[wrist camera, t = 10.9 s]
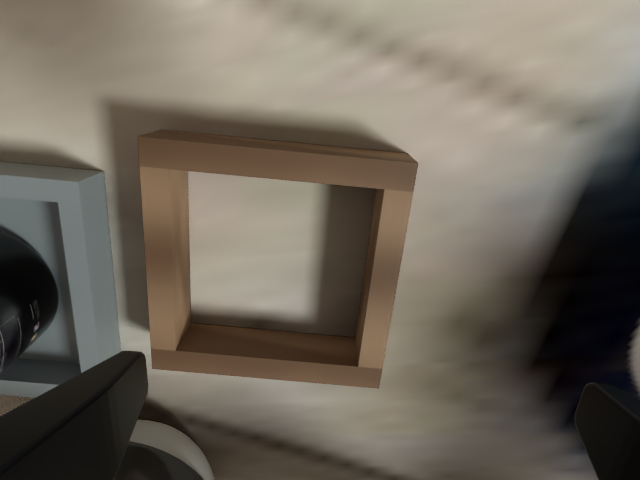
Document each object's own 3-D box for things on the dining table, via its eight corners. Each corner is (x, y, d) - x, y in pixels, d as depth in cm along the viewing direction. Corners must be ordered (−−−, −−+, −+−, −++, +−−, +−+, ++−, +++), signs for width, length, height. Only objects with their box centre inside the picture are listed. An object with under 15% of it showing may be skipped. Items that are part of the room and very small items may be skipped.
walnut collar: (374, 357, 24) (378, 388, 21) (169, 339, 23) (152, 368, 21) (407, 153, 20) (418, 163, 17) (160, 129, 19) (137, 136, 17)
